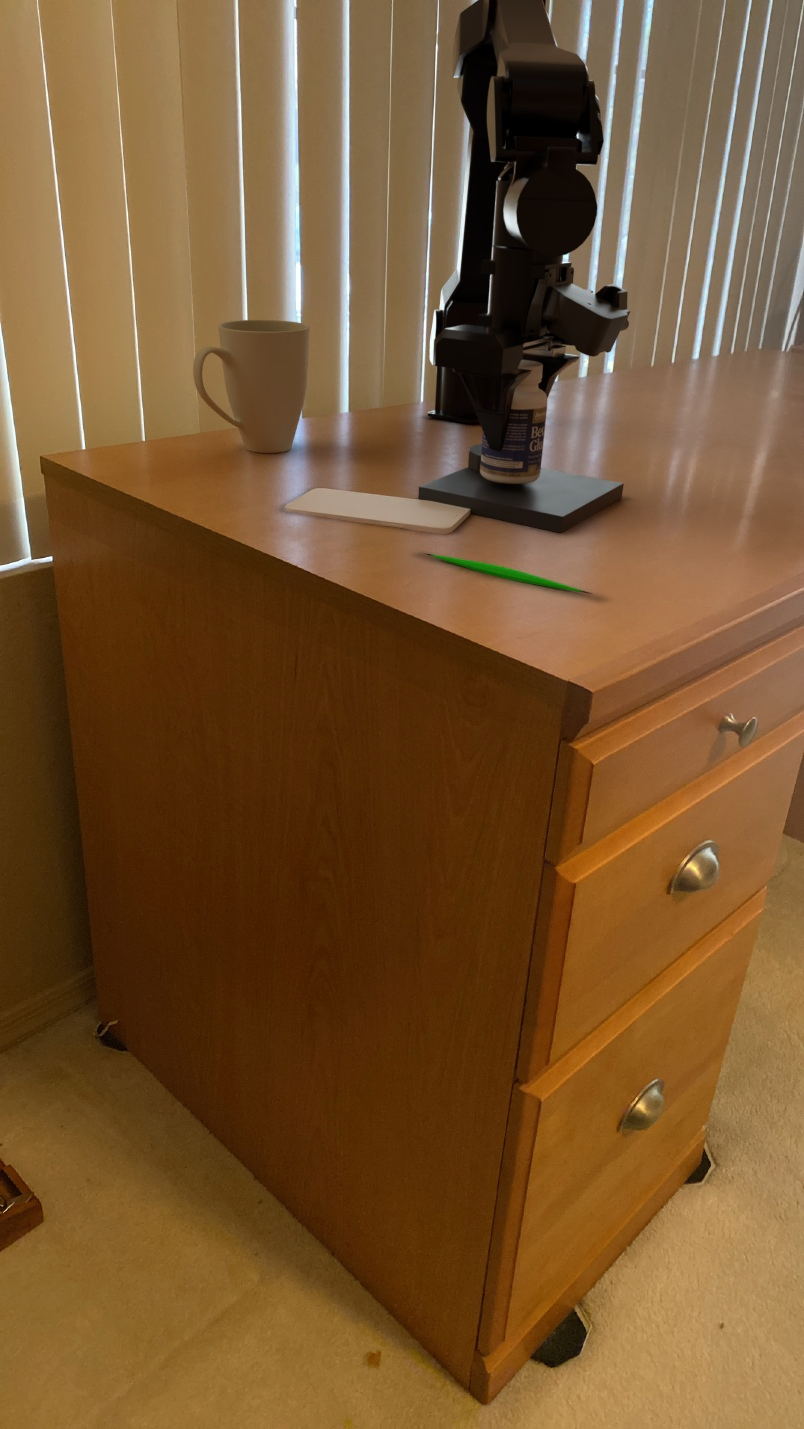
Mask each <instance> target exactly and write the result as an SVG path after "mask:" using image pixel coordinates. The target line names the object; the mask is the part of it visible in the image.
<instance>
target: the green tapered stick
mask: <svg viewBox="0 0 804 1429" xmlns="http://www.w3.org/2000/svg"><path fill="white" fill-rule="evenodd" d="M423 554H424V555H427V556H429V557H433V558H435V559H439V560H442V561H445V562H448V563H450V564H453V565H457V566H460V567H463V568H466V569H469V570H472V571H475V572H479V573H481V574H486V575H489V576H493V577H497V578H502V579H506V580H509V581H514V582H520V583H525V584H531V585H536V586H543V587H548V588H553V589H561V590H565V591H566V590H567V591H572V592H578V593H583V594H589V595H593V593H592V592H589V591H585V590H583V589H579V588H576V587H572V586H569V585H566V584H563V583H560V582H557V581H554V580H551V579H547V578H545V577H540V576H537V575H534V574H531V573H528V572H524V571H520V570H517V569H513V568H509V567H506V566H503V565H502V566H501V565H498V564H492V563H487V562H482V561H475V560H471V559H464V558H458V557H452V556H444V555H438V554H432V553H423Z"/></svg>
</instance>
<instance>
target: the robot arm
mask: <svg viewBox="0 0 804 1429" xmlns="http://www.w3.org/2000/svg"><path fill="white" fill-rule="evenodd" d="M546 4H547V0H476V1H475V2H473V3H472V4H470V5H469V6H468V7H466V8H465V9H464V10H462V11H461V12H460V13H459V16H458V20H457V24H456V29H455V33H454V38H453V49H452V64H451V65H452V66H451V68H452V77H453V79H455V78H456V79H457V81H456V83H457V84H456V89H457V94H458V97H459V101H460V104H461V107H462V109H463V112H464V113H465V117H466V119H467V121H468V123H469V126H468V128H469V131H468V138H467V140H468V141H467V152H466V161H465V172H464V174H465V175H464V184H463V195H462V196H463V198H462V207H461V218H460V219H461V220H460V230H459V242H458V252H457V253H458V254H457V265H456V269H454V271H453V273H452V274H451V276H450V277H449V278H448V279H447V281H446V282H445V283H444V285H443V286H442V287H441V291H440V300H439V309H434V310H433V317H432V323H431V324H432V325H431V332H430V337H429V338H430V339H429V361H430V363H431V365H432V367H436V375H435V376H436V377H435V396H434V397H435V398H434V409H433V410H430V411H428V412H427V417H430V418H435V419H440V420H441V419H442V420H447V421H452V422H457V423H458V422H459V423H465V424H470V425H471V424H472V425H473V424H478V423H479V424H480V428H481V429H482V433H483V432H484V435H485V437H486V440H487V443H488V445H489V448H490V449H492V450H498V451H499V450H502V449H503V445H504V441H505V437H506V433H507V428H508V423H509V417H510V412H511V407H512V401H513V396H514V391H515V389H516V387H517V386H518V385H519V384H520V383H521V382H522V381H523V380H524V379H525V378H526V377H527V376H528V375H529V374H530V373H531V372H532V370H526V369H519V367H520V362H521V360H529V361H536V362H539V363H542V364H543V370H542V378H541V382H540V383H538V388H539V389H541V390H542V391H544V392H545V394H546V396H547V400H548V398H549V396H550V393H551V391H552V388H553V386H554V384H555V382H556V379H557V377H558V376H559V375H560V374H561V373H562V372H564V371H565V370H566V369H568V367H570V366H571V365H573V364H574V363H576V362H577V361H578V360H579V359H580V355H577V354H571V353H566V350H567V346H572V347H574V349H575V350H576V351H577V352H579V353H581V354H583V355H585V356H588V357H594V358H595V357H597V356H599V355H600V354H601V353H604V352H605V353H611V352H612V350H613V348H614V345H615V343H616V342H617V339H618V337H619V335H620V333H621V332H622V331H626V330H627V329H629V325H630V321H629V319H628V318H629V316H630V313H631V311H630V310H629V309H628V296H629V294H628V290H626V289H624V288H622V287H620V286H618V285H617V284H615V283H612V284H606V285H604V286H602V288H600V289H599V290H598V291H597V292H596V293H594V290H592V289H584V288H582V287H580V286H578V285H575V284H574V278H575V268H574V266H572V265H573V262H571V261H564V260H563V259H564V256H565V255H568V254H570V253H572V252H574V251H576V250H577V249H578V248H579V247H581V246H582V245H583V244H584V243H585V242H586V241H587V239H588V237H589V236H590V235H591V233H592V230H594V227H595V224H596V219H597V216H598V203H597V198H596V192H595V189H594V187H593V185H592V183H591V181H589V179H588V178H587V177H586V176H585V174H584V173H582V172H581V171H580V170H578V169H577V165H578V166H596V165H598V160H599V156H600V155H601V152H602V149H603V146H604V142H605V139H604V133H603V130H604V129H603V122H602V115H601V107H600V99H599V97H598V96H597V94H596V84H595V80H592V79H590V77H589V76H590V75H589V69H588V66H587V65H586V63H585V62H584V61H583V59H582V58H581V57H580V56H579V55H578V53H575V52H572V51H569V50H566V49H563V48H560V47H558V43H557V40H556V37H555V35H554V31H553V28H552V25H551V19H550V18H551V17H550V15H549V13H548V12H547V9H546ZM577 135H578V136H577Z"/></svg>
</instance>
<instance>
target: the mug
mask: <svg viewBox="0 0 804 1429" xmlns="http://www.w3.org/2000/svg"><path fill="white" fill-rule="evenodd" d="M217 329H218V338H219V346H220V347H217V346H205V347H201V348H200V349H199V350H198V351H197V352H196V354H195V356H194V358H193V363H192V364H193V365H192V375H193V381H194V385H195V388H196V391H197V392H198V395H199V396H200V398H201V399H202V400H203V401H204V402H205V404H206V405H207V406H208V407H209V408H210V409H211V410H213V411H214V412H215V413H216V414H217V415H218V416H219V417H221V418H222V419H224V420H225V421H226V422H227V423H229V424H230V425H232V426H234V427H236V428H237V429H238V431H239V434H240V437H241V440H242V443H243V446H244V448H245V449H246V450H247V451H249V452H253V453H260V454H273V453H274V454H277V453H283V452H288V451H289V450H291V449H292V447H293V443H294V441H295V436H296V433H297V429H298V426H299V422H300V419H301V415H302V411H303V407H304V402H305V399H306V393H307V382H308V371H309V370H308V368H309V365H308V364H309V346H310V325H308V324H305V323H302V322H297V321H291V320H290V321H289V320H280V319H279V320H278V319H241V320H240V319H239V320H233V321H232V320H231V321H225V322H224V321H223V322H220V323H219V324H218V325H217ZM209 354H214V355H216V356H217V357H218V358H220V360H221V361H222V371H223V377H224V386H225V391H226V396H227V400H228V402H229V406H230V409H231V412H232V414H233V418H232V417H231V416H229V415H228V413H226V412H225V411H224V410H223V409H222V408H221V407H219V405H217V404H216V402H215V401H214V400H212V398H211V397H210V396H209V394H208V393H207V390H206V388H205V385H204V380H203V370H204V362H205V359H206V358H207V357H208V355H209Z"/></svg>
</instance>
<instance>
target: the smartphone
mask: <svg viewBox="0 0 804 1429" xmlns="http://www.w3.org/2000/svg"><path fill="white" fill-rule="evenodd" d="M284 511H285V512H288V513H291V514H300V515H307V516H312V517H313V516H314V517H321V518H328V519H335V520H342V521H349V522H355V523H362V524H369V525H377V526H383V527H391V528H399V529H405V530H411V531H419V532H426V533H433V534H442V535H444V534H445V535H446V534H451V533H452V532H454V531H455V530H456V529H457V527H459V525H460V524H462V523H463V522H464V521H465V520H466V519H467V518H468V517H469V516H470V515H471V513H470V509H468V508H463V507H458V506H453V505H448V504H443V503H438V502H433V501H426V500H418V498H411V497H410V498H409V497H401V496H392V495H383V494H375V493H367V492H360V491H351V490H342V489H334V488H325V487H317V488H312V489H310V490H309V491H307V492H306V493H304V494H302V495H300V496H299V497H297V498H295V499H294V500H292V501H290V502H289V503H287V504H285V506H284Z"/></svg>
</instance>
